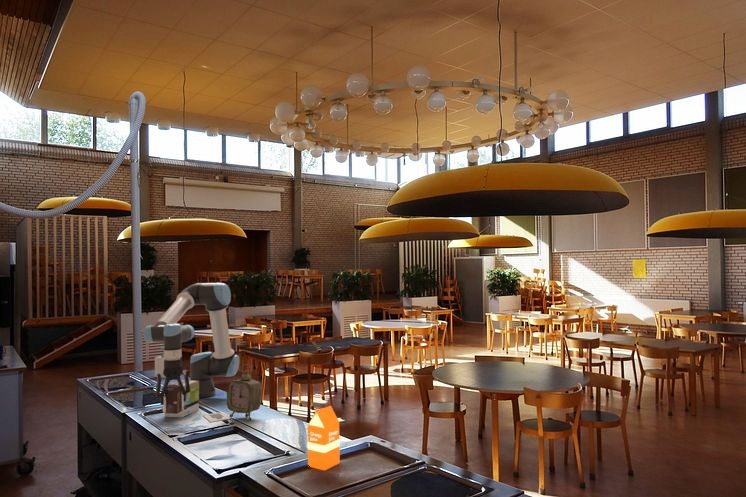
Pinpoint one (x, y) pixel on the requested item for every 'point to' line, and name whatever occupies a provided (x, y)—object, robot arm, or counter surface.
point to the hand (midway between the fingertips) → (173, 410)
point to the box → (173, 399)
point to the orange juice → (323, 439)
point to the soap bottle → (159, 363)
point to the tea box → (188, 400)
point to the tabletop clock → (244, 394)
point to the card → (217, 417)
